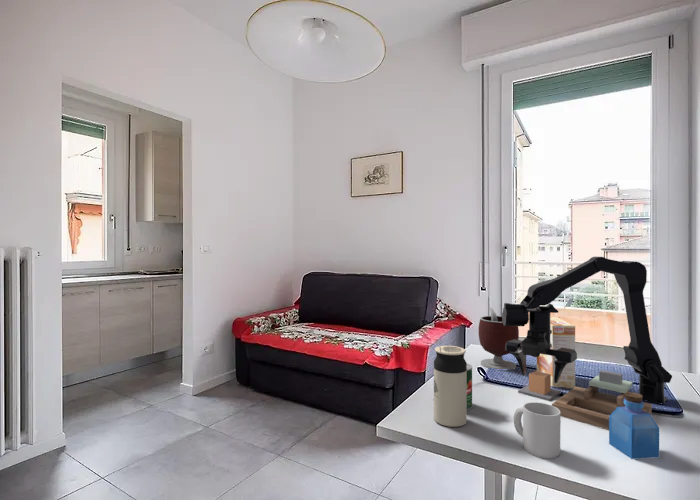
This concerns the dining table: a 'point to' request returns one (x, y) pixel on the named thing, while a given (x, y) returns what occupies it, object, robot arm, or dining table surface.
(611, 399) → the puzzle board
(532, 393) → the mat
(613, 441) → the perfume bottle
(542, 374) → the block
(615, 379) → the lid
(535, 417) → the cup
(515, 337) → the mate gourd
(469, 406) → the canned tomato
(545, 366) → the coffeecake box
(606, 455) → the dining table surface
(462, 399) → the travel mug
